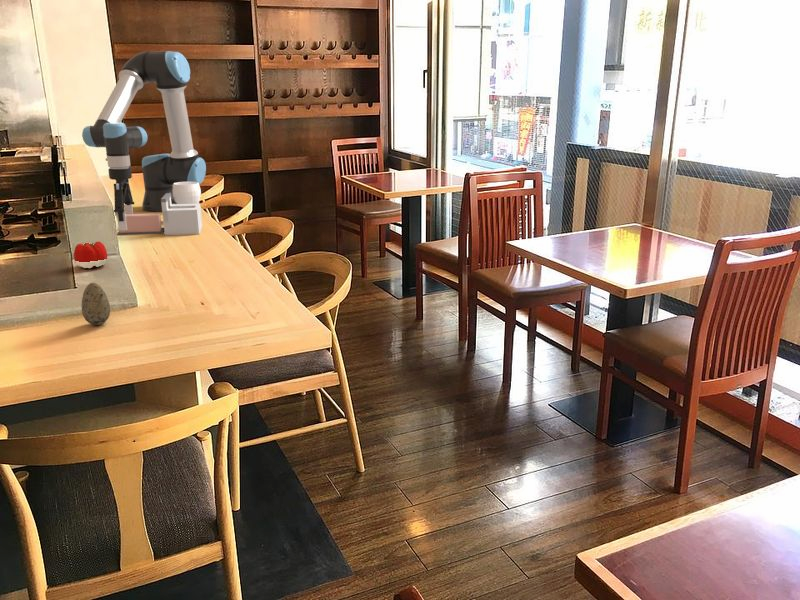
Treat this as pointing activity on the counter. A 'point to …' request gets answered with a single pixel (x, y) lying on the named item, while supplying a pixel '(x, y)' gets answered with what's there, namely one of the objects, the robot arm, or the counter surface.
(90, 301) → the decorative egg
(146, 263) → the counter surface
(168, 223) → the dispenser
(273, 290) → the counter surface
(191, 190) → the cup
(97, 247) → the tomato
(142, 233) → the pad
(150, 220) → the pink rectangular block
